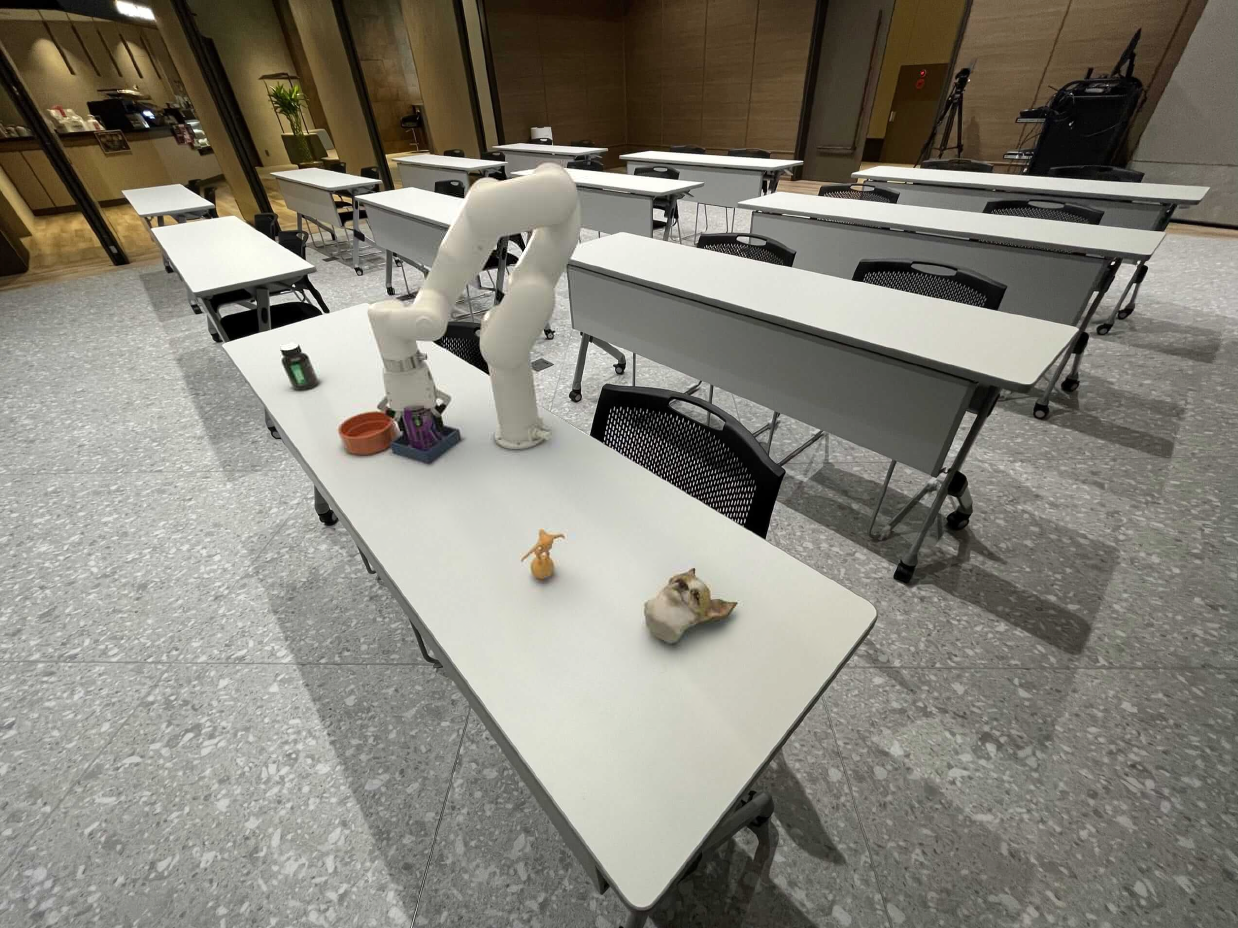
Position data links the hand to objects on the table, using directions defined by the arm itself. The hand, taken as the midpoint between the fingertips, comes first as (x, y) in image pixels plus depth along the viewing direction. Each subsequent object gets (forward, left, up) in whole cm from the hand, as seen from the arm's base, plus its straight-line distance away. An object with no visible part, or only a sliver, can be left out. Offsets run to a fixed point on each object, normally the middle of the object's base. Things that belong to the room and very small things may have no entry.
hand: (422, 430), depth 118 cm
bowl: (+14, +4, -4) cm, 15 cm away
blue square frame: (0, 0, -4) cm, 4 cm away
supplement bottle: (+56, -10, -5) cm, 57 cm away
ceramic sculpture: (-72, +21, -5) cm, 75 cm away
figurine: (-48, +23, -5) cm, 53 cm away
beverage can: (0, 0, -5) cm, 5 cm away
